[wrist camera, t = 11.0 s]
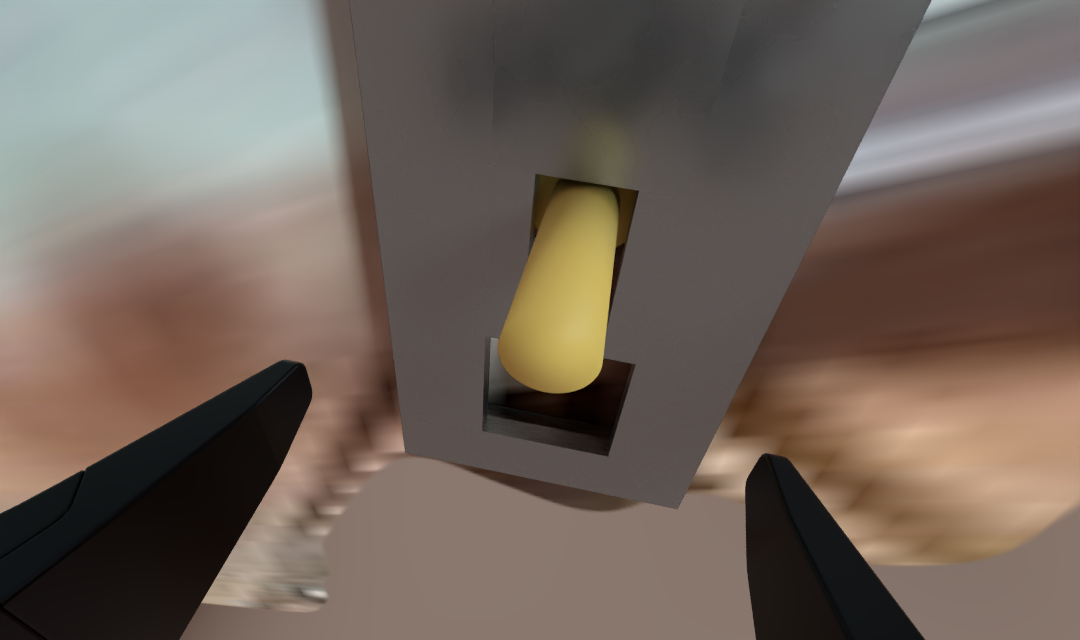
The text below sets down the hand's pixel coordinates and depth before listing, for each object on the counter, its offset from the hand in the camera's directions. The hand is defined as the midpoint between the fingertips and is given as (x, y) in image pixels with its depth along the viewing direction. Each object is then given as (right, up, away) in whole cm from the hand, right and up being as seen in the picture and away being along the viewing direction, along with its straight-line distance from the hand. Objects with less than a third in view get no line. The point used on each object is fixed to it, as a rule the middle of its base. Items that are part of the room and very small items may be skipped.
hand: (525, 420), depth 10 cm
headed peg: (+2, +7, +9) cm, 11 cm away
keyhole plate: (+2, +4, +11) cm, 12 cm away
